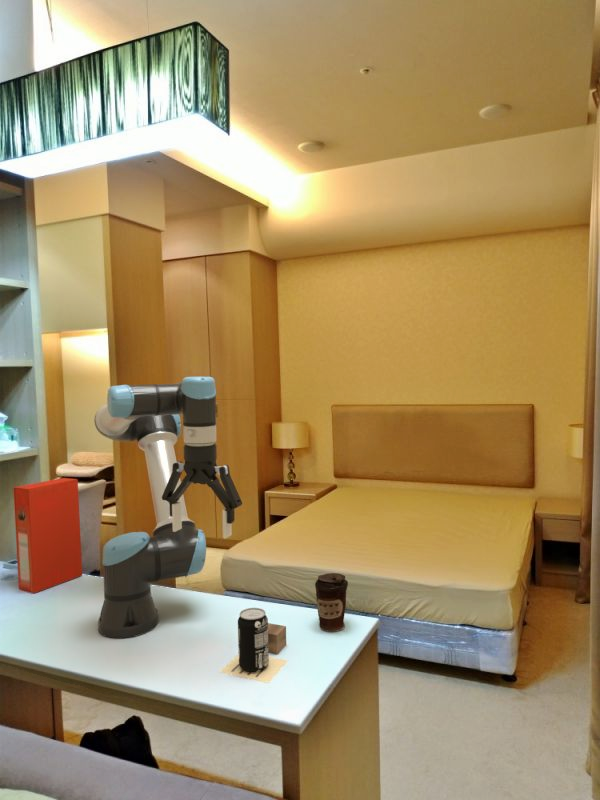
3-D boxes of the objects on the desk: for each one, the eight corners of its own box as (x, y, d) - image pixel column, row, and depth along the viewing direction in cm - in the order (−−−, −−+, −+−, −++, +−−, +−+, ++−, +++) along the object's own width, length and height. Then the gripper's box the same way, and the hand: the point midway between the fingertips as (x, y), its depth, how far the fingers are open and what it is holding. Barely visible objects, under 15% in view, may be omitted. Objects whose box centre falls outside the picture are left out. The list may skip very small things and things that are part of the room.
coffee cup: (346, 636, 141) (345, 584, 140) (313, 633, 142) (312, 582, 142) (350, 620, 149) (349, 571, 148) (319, 618, 151) (317, 570, 150)
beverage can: (239, 659, 129) (237, 607, 129) (268, 657, 130) (267, 606, 129) (238, 674, 123) (237, 620, 122) (269, 672, 123) (267, 618, 123)
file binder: (18, 589, 177) (13, 487, 176) (66, 572, 192) (62, 477, 190) (34, 594, 173) (29, 489, 171) (82, 576, 188) (78, 479, 186)
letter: (219, 673, 124) (219, 672, 124) (241, 652, 134) (241, 651, 133) (268, 684, 120) (268, 682, 119) (288, 661, 129) (288, 660, 129)
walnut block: (258, 652, 134) (257, 631, 133) (267, 643, 138) (267, 622, 138) (277, 656, 132) (276, 635, 131) (286, 646, 136) (285, 626, 136)
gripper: (145, 442, 133) (147, 531, 135) (240, 449, 124) (241, 544, 126) (164, 438, 140) (166, 523, 142) (255, 444, 131) (256, 534, 132)
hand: (201, 533), depth 134 cm, fingers open, 13 cm apart
